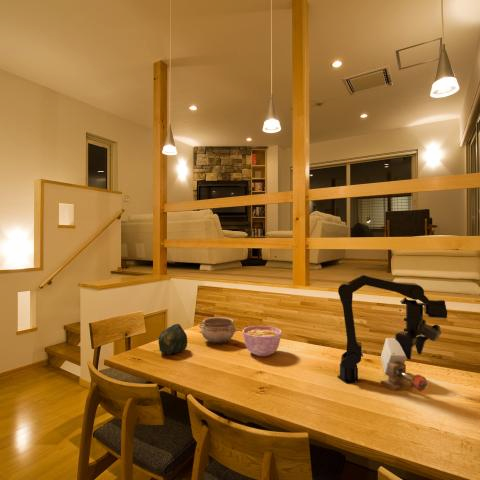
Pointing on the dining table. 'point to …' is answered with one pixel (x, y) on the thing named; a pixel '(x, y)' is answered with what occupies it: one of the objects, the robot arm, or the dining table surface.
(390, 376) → the wall mount bracket
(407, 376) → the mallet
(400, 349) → the skincare box
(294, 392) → the dining table surface
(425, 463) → the dining table surface
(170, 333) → the squash
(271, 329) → the bowl of food
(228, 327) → the cooking pot
